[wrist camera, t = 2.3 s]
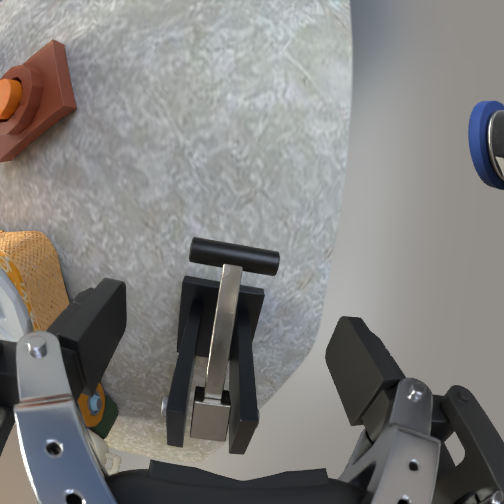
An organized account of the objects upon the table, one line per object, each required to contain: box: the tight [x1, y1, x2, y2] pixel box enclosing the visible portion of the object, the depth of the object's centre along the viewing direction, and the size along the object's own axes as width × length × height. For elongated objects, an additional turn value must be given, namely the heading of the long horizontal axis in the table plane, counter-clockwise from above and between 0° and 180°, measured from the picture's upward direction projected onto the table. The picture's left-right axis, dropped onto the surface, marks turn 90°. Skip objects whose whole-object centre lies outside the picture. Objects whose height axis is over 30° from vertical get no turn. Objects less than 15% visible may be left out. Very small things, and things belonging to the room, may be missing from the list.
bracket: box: [161, 276, 265, 454], centre depth 19 cm, size 8×7×13 cm
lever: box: [189, 237, 280, 442], centre depth 15 cm, size 12×5×2 cm, turn 168°
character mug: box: [88, 395, 121, 475], centre depth 23 cm, size 11×7×13 cm, turn 78°
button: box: [0, 79, 23, 119], centre depth 12 cm, size 4×4×2 cm
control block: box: [0, 40, 77, 162], centre depth 15 cm, size 10×8×4 cm
